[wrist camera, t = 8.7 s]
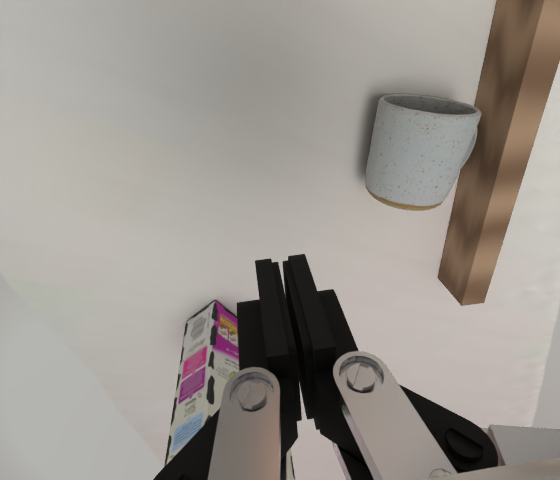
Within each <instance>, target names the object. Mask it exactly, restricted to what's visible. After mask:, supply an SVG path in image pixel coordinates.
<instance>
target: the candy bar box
mask: <svg viewBox="0 0 560 480" xmlns="http://www.w3.org/2000/svg"><path fill="white" fill-rule="evenodd" d="M238 371H239V352H238V324H237V317H236V316H235V315H233V314H232V313H231V312H229V311H228V310H227V309H226V308H224V307H223V306H222V305H220V304H219V303H218V302H217V301H214V302H212V303H211V304H209V305H208V306H207V307H206V308H204V309H203V310H202V311H200V312H199V313H197V314H196V315H194V316H193V317H192V318H191V319H189V320H188V321H187V322H186V326H185V333H184V340H183V347H182V353H181V361H180V367H179V373H178V381H177V388H176V393H175V400H174V407H173V413H172V420H171V427H170V433H169V440H168V447H167V453H166V460H165V466H166V465H167V464H168V463H169V462H170V461H171V460H172V459H173V457H174V456H175V455H176V454H177V453H178V452H179V451H180V450H181V449H182V448H183V447H184V446H185V445H186V444H187V443H188V441H189V440H190V439H191V438H192V437H193V436H194V435H195V434H196V433H197V432H198V431H199V430H200V429H201V428H202V426H203V425H204V424H205V423H206V422H207V421H208V420H209V419H210V418H211V417H212V416H213V415H214V414H215V413H216V412H217V410H218V409H219V408H220V406H221V401H222V395H223V390H224V388H225V385H226V383H227V382H228V380H229V379H230V377H232V376H233V375H234V374H235V373H237V372H238ZM287 455H288V480H295V476H294V469H293V463H292V455H291V448H290V449H289V451H288V452H287Z"/></svg>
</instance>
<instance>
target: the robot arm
mask: <svg viewBox="0 0 560 480" xmlns="http://www.w3.org/2000/svg"><path fill="white" fill-rule="evenodd" d="M255 265H256V273H257V281H258V290H259V298H260V300H253V301H246V302H239V303H237V324H238V352H239V371H238V372H237V373H235V374H234V375H233V376H232V377H230V379H229V380H228V382H227V383H226V385H225V388H224V390H223V395H222V401H221V406H220V408H219V409H218V410H217V412H216V413H215V414H214V415H213V416H212V417H211V418H210V419H209V420H208V421H207V422H206V423H205V424H204V425H203V426H202V428H201V429H200V430H199V431H198V432H197V433H196V434H195V435H194V436H193V437H192V438H191V439H190V440H189V441H188V443H187V444H186V445H185V446H184V447H183V448H182V449H181V450H180V451H179V452H178V453H177V454H176V455H175V456H174V457H173V459H172V460H171V461H170V462H169V463H168V464H167V465H166V466H165V467H164V468H163V469H162V470H161V471H160V472H159V473H158V475H157V476H156V477H155V478H154V480H288V455H287V452H288V451H289V449H290V448H291V446H292V445H293V444H294V442H295V441H296V439H297V438H298V432H297V421H300V420H302V417H301V402H300V388H299V382H300V387H301V392H302V397H303V402H304V407H305V412H306V416H307V419H312V418H314V422H315V426H316V430H318V429H320V433H321V434H322V435H324V436H325V437H326V438H328V439H329V440H331V441H332V443H333V447H334V450H335V453H336V455H337V458H338V460H339V463H340V465H341V468H342V470H343V473H344V475H345V477H346V480H560V429H546V428H531V427H516V426H501V425H490V426H489V428H488V429H487V428H480V427H478V426H477V425H475V424H474V423H472V422H471V421H469V420H467V419H465V418H463V417H461V416H459V415H457V414H455V413H453V412H451V411H449V410H447V409H445V408H444V407H442V406H440V405H438V404H436V403H434V402H432V401H430V400H428V399H426V398H424V397H422V396H420V395H418V394H416V393H414V392H413V391H411V390H409V389H407V388H405V387H403V386H401V385H399V384H398V383H397V381H396V379H395V378H394V376H393V375H392V373H391V372H390V370H389V369H388V367H387V366H386V365H385V364H384V362H383V361H382V360H381V359H379V358H378V357H376V356H375V355H373V354H370V353H367V352H361V351H358V348H357V346H356V343H355V341H354V338H353V336H352V333H351V331H350V328H349V326H348V323H347V321H346V318H345V316H344V313H343V311H342V308H341V306H340V303H339V301H338V298H337V296H336V294H335V292H334V290H333V289H331V290H324V291H317V289H316V286H315V283H314V280H313V277H312V274H311V271H310V268H309V265H308V262H307V259H306V256H305V254H301V255H294V256H288V261H283V273H284V285H285V293H284V288H283V283H282V279H281V274H280V269H279V265H278V262H274V263H272V261H271V259H264V260H256V261H255ZM285 297H286V298H285Z"/></svg>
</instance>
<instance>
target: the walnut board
mask: <svg viewBox="0 0 560 480" xmlns="http://www.w3.org/2000/svg"><path fill="white" fill-rule="evenodd" d="M559 60H560V0H497V3H496V8H495V12H494V17H493V22H492V26H491V31H490V36H489V40H488V45H487V50H486V54H485V59H484V64H483V68H482V73H481V78H480V82H479V87H478V92H477V96H476V101H475V106H474V107H476V108H478V109H479V110H480V111H481V117H480V120H479V123H478V125H477V128H478V131H477V138H476V142H475V145H474V147H473V150H472V152H471V154H470V156H469V158H468V159H467V161H466V163H465V164H464V165H463V167H462V168H461V171H460V176H459V180H458V185H457V190H456V194H455V199H454V204H453V209H452V213H451V218H450V223H449V227H448V232H447V237H446V241H445V246H444V251H443V255H442V260H441V265H440V269H439V274H438V279H439V280H440V281H441V282H442V283H443V284H444V286H445V287H446V288H447V289H448V290H449V292H450V293H451V294H452V295H453V296H454V297H455V299H456V300H457V301H458V302H459V303H460V305H461V306H463V305H471V304H478V303H484V301H485V298H486V294H487V291H488V288H489V285H490V282H491V278H492V275H493V272H494V269H495V266H496V262H497V259H498V256H499V253H500V250H501V246H502V243H503V240H504V237H505V234H506V230H507V227H508V224H509V221H510V218H511V214H512V211H513V208H514V205H515V202H516V198H517V195H518V192H519V189H520V185H521V182H522V179H523V176H524V173H525V169H526V166H527V163H528V160H529V157H530V153H531V150H532V147H533V144H534V141H535V137H536V134H537V131H538V128H539V125H540V121H541V118H542V115H543V112H544V109H545V105H546V102H547V99H548V96H549V93H550V89H551V86H552V83H553V80H554V77H555V73H556V70H557V67H558V64H559Z"/></svg>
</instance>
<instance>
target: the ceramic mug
mask: <svg viewBox="0 0 560 480" xmlns="http://www.w3.org/2000/svg"><path fill="white" fill-rule="evenodd" d="M480 117H481V111H480V110H479V109H478V108H476V107H474V106H472V105H469V104H465V103H461V102H457V101H453V100H448V99H444V98H437V97H431V96H421V95H414V94H389V95H384V96H382V97H381V98H380V99H379V101H378V107H377V113H376V118H375V123H374V128H373V134H372V140H371V146H370V152H369V157H368V161H367V167H366V188H367V190H368V192H369V193H370V194H371V195H372V196H373V197H374V198H375V199H377V200H378V201H380V202H382V203H384V204H386V205H389V206H392V207H395V208H399V209H404V210H414V211H420V210H429V209H432V208H435V207H437V206H439V205H440V204H441V203H442V202H443V201H444V200H445V198H446V197H447V195H448V194H449V192H450V190H451V189H452V186H453V184H454V181H455V179H456V176H457V173H458V171H459V170H460V169H461V168H462V167H463V165H464V164H465V163H466V161H467V159H468V158H469V156H470V154H471V152H472V150H473V147H474V145H475V142H476V138H477V131H478V128H477V125H478V123H479V120H480Z"/></svg>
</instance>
